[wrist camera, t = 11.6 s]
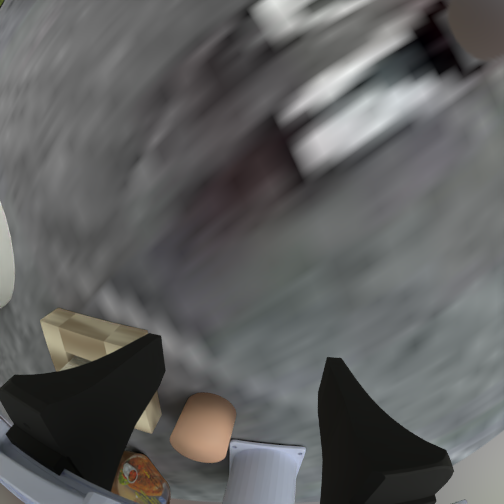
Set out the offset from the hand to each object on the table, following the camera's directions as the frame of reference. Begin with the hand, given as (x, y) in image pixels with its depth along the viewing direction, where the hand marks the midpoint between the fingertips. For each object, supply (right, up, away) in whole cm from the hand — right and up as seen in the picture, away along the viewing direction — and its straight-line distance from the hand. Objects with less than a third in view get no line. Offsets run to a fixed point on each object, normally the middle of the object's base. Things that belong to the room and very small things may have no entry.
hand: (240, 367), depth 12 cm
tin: (-14, -27, +20) cm, 36 cm away
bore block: (-14, -7, +14) cm, 21 cm away
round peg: (-4, -10, +13) cm, 17 cm away
